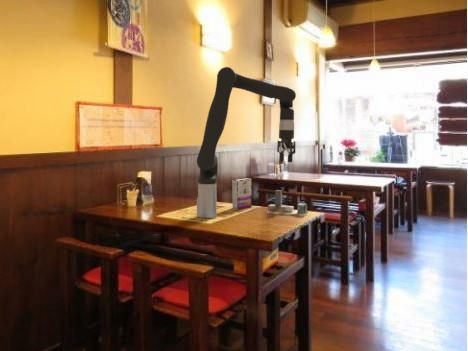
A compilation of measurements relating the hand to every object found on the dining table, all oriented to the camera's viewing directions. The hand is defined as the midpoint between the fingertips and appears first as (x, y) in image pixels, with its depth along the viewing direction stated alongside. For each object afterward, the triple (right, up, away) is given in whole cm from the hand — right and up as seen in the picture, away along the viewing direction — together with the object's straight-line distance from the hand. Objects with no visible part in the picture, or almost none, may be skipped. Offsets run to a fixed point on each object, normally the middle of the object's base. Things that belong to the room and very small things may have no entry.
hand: (285, 161), depth 203 cm
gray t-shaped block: (-1, -26, +14) cm, 29 cm away
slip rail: (+3, -27, +13) cm, 30 cm away
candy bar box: (-22, -26, +28) cm, 44 cm away
